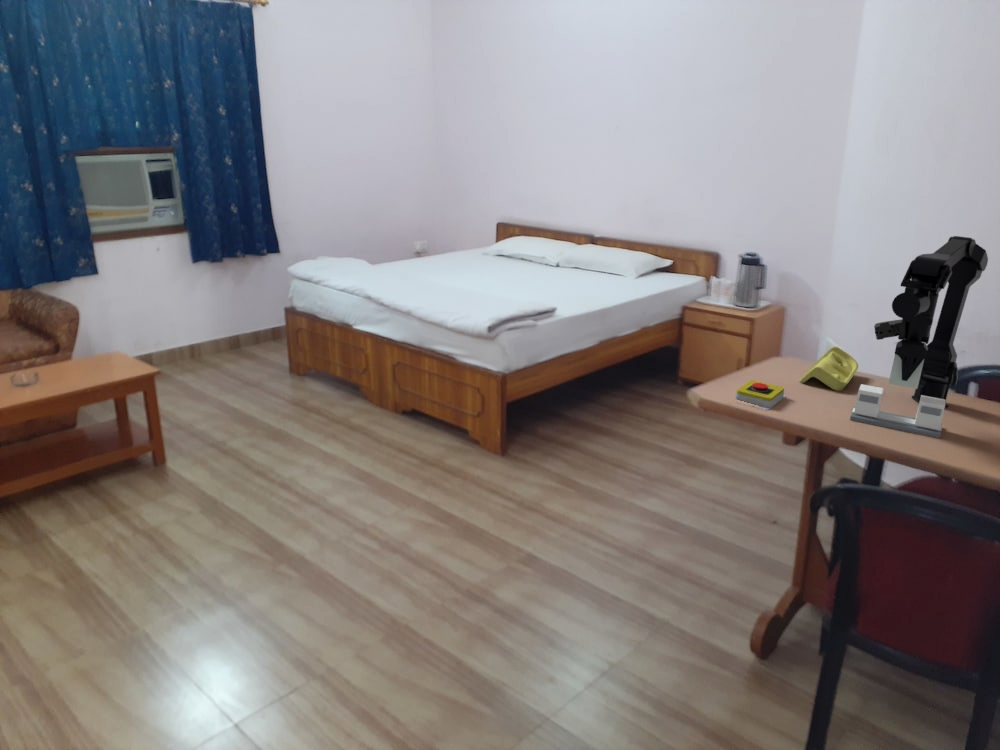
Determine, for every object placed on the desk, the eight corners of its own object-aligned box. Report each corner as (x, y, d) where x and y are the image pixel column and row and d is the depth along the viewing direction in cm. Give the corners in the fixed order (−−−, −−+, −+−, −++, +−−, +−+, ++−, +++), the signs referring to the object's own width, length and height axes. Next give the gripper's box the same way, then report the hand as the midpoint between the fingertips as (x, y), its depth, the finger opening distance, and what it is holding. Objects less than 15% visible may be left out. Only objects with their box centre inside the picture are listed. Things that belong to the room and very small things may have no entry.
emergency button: (733, 387, 186) (754, 373, 197) (730, 403, 187) (751, 388, 198) (770, 395, 180) (789, 381, 192) (767, 412, 182) (786, 397, 193)
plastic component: (846, 385, 195) (813, 363, 198) (829, 405, 200) (797, 383, 203) (862, 363, 210) (831, 342, 213) (845, 382, 214) (815, 361, 218)
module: (918, 383, 174) (924, 354, 172) (917, 389, 170) (924, 360, 168) (890, 378, 177) (896, 350, 175) (888, 383, 173) (894, 355, 171)
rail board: (940, 427, 175) (947, 398, 173) (940, 438, 169) (947, 408, 166) (853, 410, 184) (859, 382, 182) (849, 419, 178) (855, 391, 175)
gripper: (884, 300, 179) (871, 361, 184) (877, 314, 164) (863, 380, 169) (936, 307, 174) (921, 370, 179) (934, 322, 159) (918, 391, 164)
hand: (905, 377), depth 173 cm, fingers closed on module, 5 cm apart
